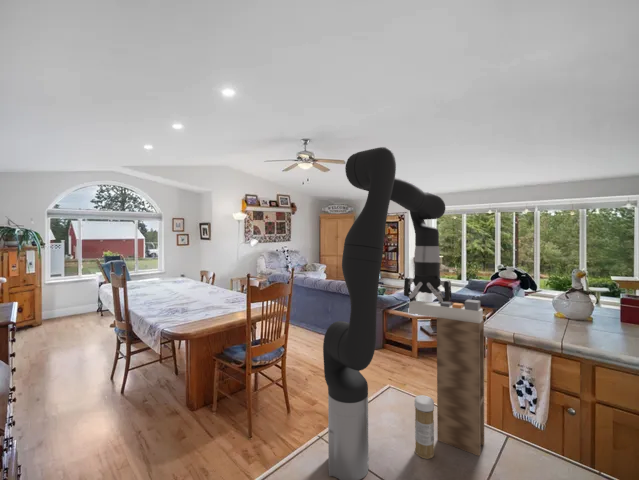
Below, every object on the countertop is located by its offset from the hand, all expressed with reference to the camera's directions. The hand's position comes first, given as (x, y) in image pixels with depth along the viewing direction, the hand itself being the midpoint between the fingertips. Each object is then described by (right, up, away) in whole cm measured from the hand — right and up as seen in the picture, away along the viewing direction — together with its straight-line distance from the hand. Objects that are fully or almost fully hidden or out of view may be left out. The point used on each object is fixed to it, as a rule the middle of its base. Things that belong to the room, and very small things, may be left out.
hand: (426, 312), depth 98 cm
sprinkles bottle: (-8, -30, -21) cm, 38 cm away
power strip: (0, +2, -15) cm, 15 cm away
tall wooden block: (+3, -30, -17) cm, 34 cm away
